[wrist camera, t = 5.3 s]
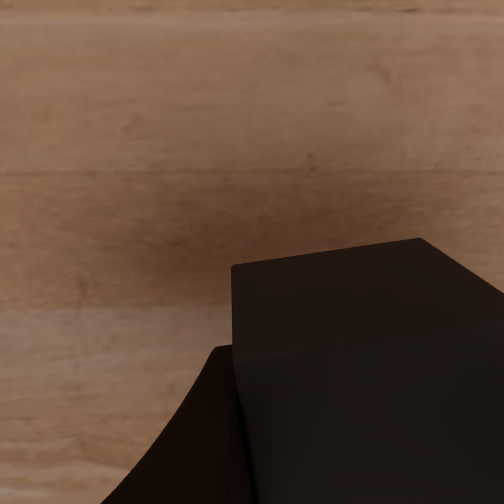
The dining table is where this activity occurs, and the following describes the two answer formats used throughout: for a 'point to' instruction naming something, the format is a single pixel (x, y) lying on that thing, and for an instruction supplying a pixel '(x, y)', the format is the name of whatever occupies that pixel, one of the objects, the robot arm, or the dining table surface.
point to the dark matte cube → (370, 377)
